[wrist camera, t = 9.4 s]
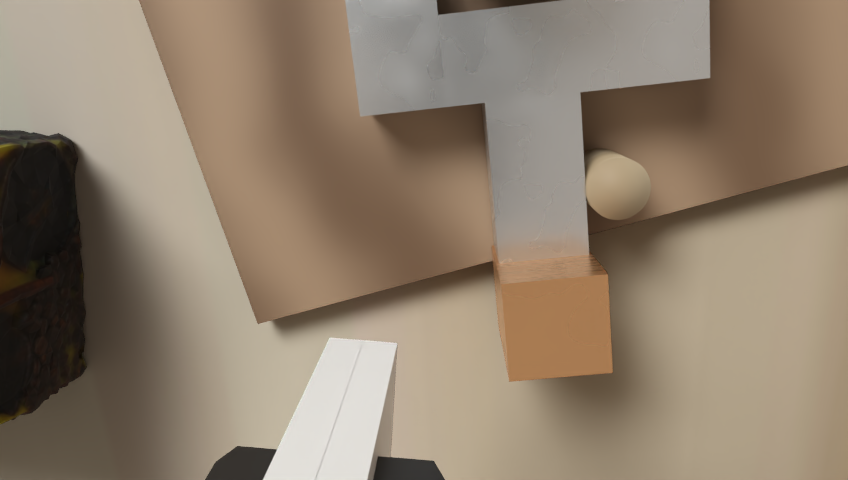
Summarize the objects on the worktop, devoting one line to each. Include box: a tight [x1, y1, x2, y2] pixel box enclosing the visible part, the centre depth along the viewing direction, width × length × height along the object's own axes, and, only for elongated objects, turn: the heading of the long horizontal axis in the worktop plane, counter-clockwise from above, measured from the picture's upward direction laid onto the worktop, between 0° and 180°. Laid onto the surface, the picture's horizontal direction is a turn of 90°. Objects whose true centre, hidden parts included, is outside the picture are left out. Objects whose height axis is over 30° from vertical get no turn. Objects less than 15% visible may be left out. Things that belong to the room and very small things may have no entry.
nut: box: [345, 0, 710, 382], centre depth 21 cm, size 20×11×5 cm, turn 6°
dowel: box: [584, 148, 651, 220], centre depth 23 cm, size 2×2×3 cm
